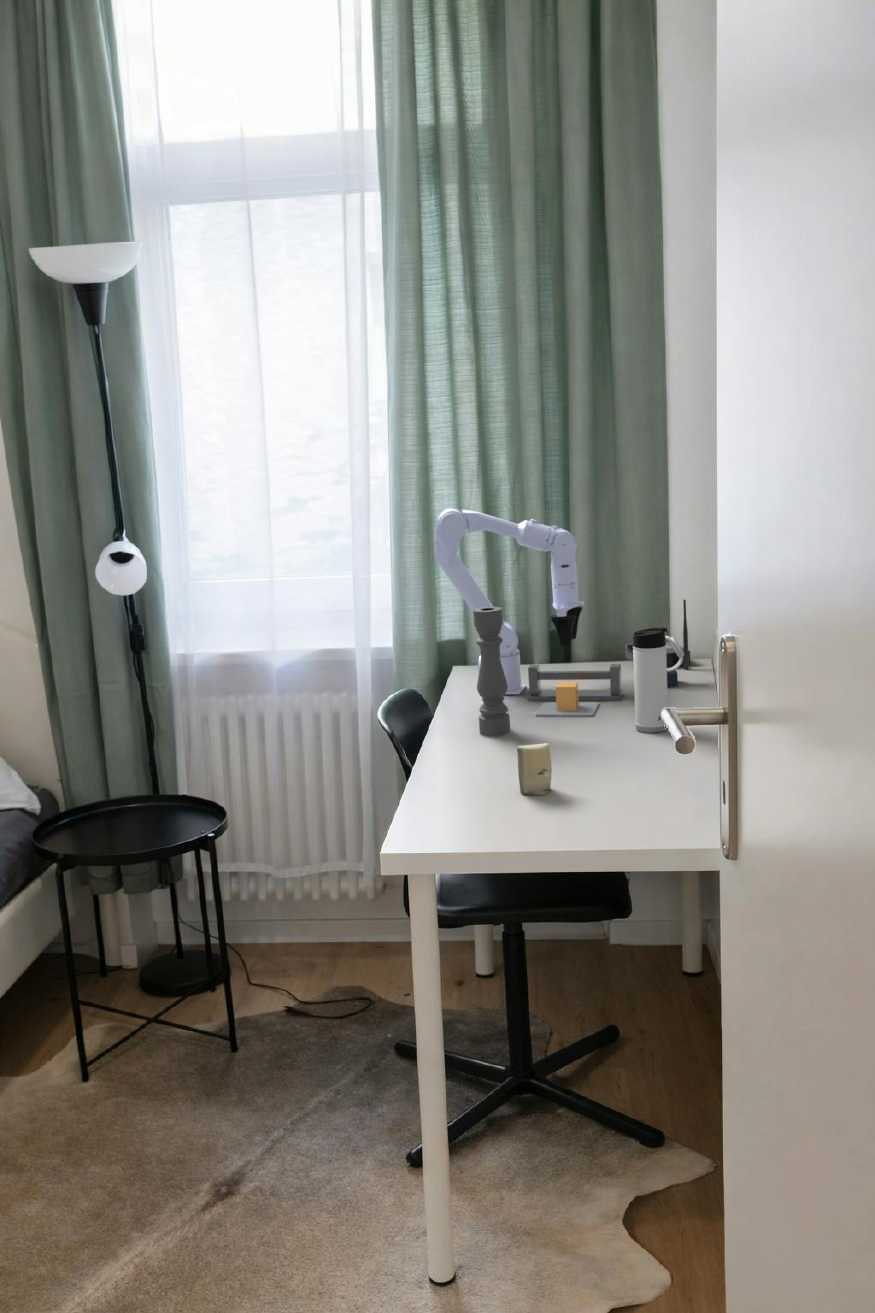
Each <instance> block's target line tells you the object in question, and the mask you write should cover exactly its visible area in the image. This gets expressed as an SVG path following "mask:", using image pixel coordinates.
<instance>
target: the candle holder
mask: <svg viewBox="0 0 875 1313" xmlns="http://www.w3.org/2000/svg"><path fill="white" fill-rule="evenodd" d="M472 613H473V616H472V618H473V627H475V631H476V632H477V634H478V636H479V637H478V638H477V639H476V641H475V643H476V644H477V645H478V646H479V652H480V653H479V654H481V664H480V670H479V672H478V676H477V677H478V678H477V683H476V691H477V693H478V695H479V697H481V700H482V702H483V703H482V704H481V707H479V712H480V714H479V716H478V727H479V734H480V735H481V736H484V737H500V736H505V735H508V734H510V733H511V720H510V719H511V717H510V714H509V713H508V711H509V707H508V706H507V705H506V703H505V702H504V700H505V698H504V697H505V695H507V694H506V692H507V689H508V684H507V681H506V678H505V674H504V671H503V668H502V664H501V661H500V644H501V643H502V641H503V639H502V638H501V637H500V636H499V633H500V630H501V629H502V627H501V626H502V625H503V620H504V619H503V608H502V607H501V606H500V607H499V606H493V607H482V608H477V609H474V610H473V612H472Z"/></svg>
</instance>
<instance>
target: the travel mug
mask: <svg viewBox="0 0 875 1313" xmlns="http://www.w3.org/2000/svg"><path fill="white" fill-rule="evenodd" d="M665 633H668V627H666V626H663V627H653V628H652V627H651V628H645V629H641V630H638V631H635V632H634V633H633V635H632V643H633V661H634V662H633V681H634V682H633V683H634V684H633V687H634V713H635V729H636V731H638V732H640V733H644V732H645V733H646V734H656V733H655V732H658V733H661V732H660V731H663V732H665V728H666V725H665V723H664V721H663V720H662V719H661V710H662V708H664V707H668V708H669V704H668V703H669V702H668V699H669V697H668V687H667V662H666V642H665V640H666V641H667V639H666V638H665V636H666V634H665ZM664 725H665V727H664ZM667 730H668V729H667V728H666V731H667Z"/></svg>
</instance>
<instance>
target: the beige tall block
mask: <svg viewBox="0 0 875 1313" xmlns="http://www.w3.org/2000/svg"><path fill="white" fill-rule="evenodd" d="M550 748H551V745H550V744H549V743H547V742H544V743H538V744H537V743H535V744H527V745H519V746H517V748H516V752H517V768H518V769H517V772H518V783H519V791H520V793H521V794H522V795H524V796H526V795H534V796H536V795H539V796H540V795H545V794H546V793H548V792H551V791H552V790H551V789H552V788H551V787H552V786H551V785H552V771H553V770H552V766H553V765H552V757H551V749H550Z"/></svg>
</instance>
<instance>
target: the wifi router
mask: <svg viewBox="0 0 875 1313" xmlns="http://www.w3.org/2000/svg"><path fill="white" fill-rule="evenodd" d="M682 602H683V603H682V604H683V623H682V624H683V625H682V642H683V644H682V646H680V648H681V649H682V651H683V653H684V655H683V661H682V663H681V665H680V666H679V667H678V668H683V670H690V669H689V668H690V666H691V650H689V633H688V631H689V630H688V623H687V600H686V599H683V601H682ZM665 642H666V662H667V668H671V667H673V666H675V665H676V664H677V663H678V661H679V659H680V658H679V657H678V656H677V654H676V653H675V651H674V650H673V648H672V646H671V645H670V643H669V642H668V640H667V639H666V640H665ZM624 647H625V650H624V653H625V659H627V660H628V661H630V662H633V663H634V661H633V642H631V643H629V642H628V643H625V646H624Z"/></svg>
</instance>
